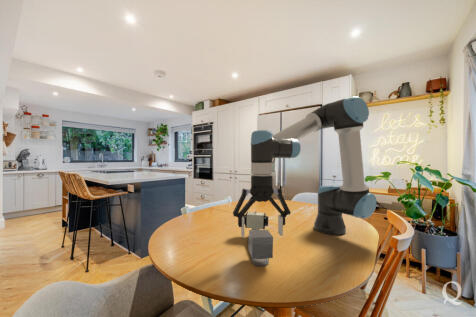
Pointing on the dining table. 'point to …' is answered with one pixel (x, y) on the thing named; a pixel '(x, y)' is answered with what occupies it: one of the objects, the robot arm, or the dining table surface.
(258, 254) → the gray cube
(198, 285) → the dining table surface
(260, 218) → the pneumatic valve
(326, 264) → the dining table surface
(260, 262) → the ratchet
